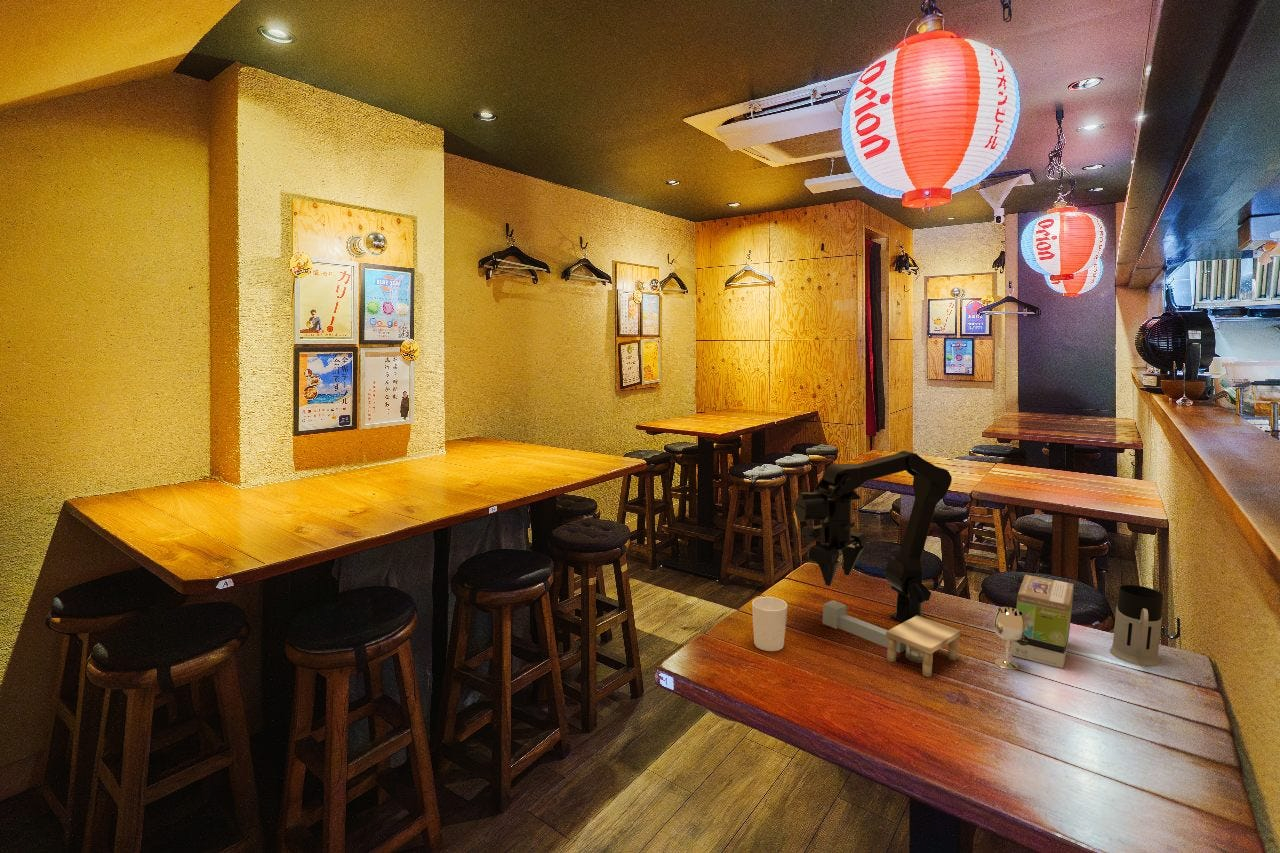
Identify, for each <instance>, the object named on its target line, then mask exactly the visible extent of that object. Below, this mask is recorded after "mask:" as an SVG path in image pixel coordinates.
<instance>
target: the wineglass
mask: <svg viewBox="0 0 1280 853" xmlns="http://www.w3.org/2000/svg"><path fill="white" fill-rule="evenodd" d="M993 630H994V633H995V634H996V635H997V636H998V637H999V638H1001V639H1003V640H1005V642H1004V646H1005V658H996V659H995V660H994V664H995V665H996V666H998V667H1000V668H1002V669H1006V670H1017V669H1018V668H1019V665H1018V663H1016V662H1015V661H1013V660H1011V659H1009V652H1010V651H1009V650H1010V648H1011V642H1013V641H1017V640H1019V639H1021V638H1022V637H1023V635H1024V632H1025V622H1024V616H1023V613H1022V612H1021V611H1020V610H1017V609H1016V607H1015V608H1013V607H1010V606H1000V607H998V608H997V610H996V613H995V615H994V619H993Z"/></svg>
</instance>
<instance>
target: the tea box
mask: <svg viewBox="0 0 1280 853" xmlns="http://www.w3.org/2000/svg"><path fill="white" fill-rule="evenodd" d="M1074 585H1075V584H1074V583H1072V582H1066V581H1061V580H1056V579H1052V578H1046V577H1042V576H1041V577H1040V576H1035V575H1029V574H1025V575H1024V576H1023V579H1022V582H1021V585H1020V587H1019V589H1018V593H1017V597H1016V599H1017V600H1016V607H1015V609H1017V610H1020V611H1021V612H1022V613H1023V616H1024V622H1025V632H1024V635H1023V637H1022V638H1021V639H1019V640H1017V641H1012V646H1011V648H1012V649H1011V655H1012V656H1014V657H1015V658H1016V657H1017V658H1021V659H1023V660H1028V661H1031V662H1036V663H1039V664H1043V665H1045V666H1046V665H1047V666H1051V667H1055V668H1058V669H1063V668H1064V666H1065V663H1066V662H1065V661H1066V656H1067V650H1068V643H1069V636H1070V630H1071V629H1070V628H1071V620H1072V619H1071V618H1072V611H1073V610H1072V609H1073V602H1074V601H1073V600H1074V588H1075V586H1074Z"/></svg>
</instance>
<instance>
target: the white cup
mask: <svg viewBox="0 0 1280 853" xmlns="http://www.w3.org/2000/svg"><path fill="white" fill-rule="evenodd" d="M751 605H752V606H751V607H752V608H751V609H752V625H753V626H752V628H753V629H752V630H753V644H754V645H755V647H756V648H757V649H759V650H762V651H766V652H777V651H781V650H782V649H783V648H784V645H785V635H786V629H787V628H786V627H787V617H788V603H787V602H786V601H785V600H783V599H781V598H777V597H773V596H762V597H760V596H759V597H757V598H755V599H753V600H752V603H751Z"/></svg>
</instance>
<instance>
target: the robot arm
mask: <svg viewBox="0 0 1280 853" xmlns="http://www.w3.org/2000/svg"><path fill="white" fill-rule="evenodd" d="M901 472H906V473H908V474H909V475H910V476H911V477H913V482H912V488H913V489H912V490H913V494H914V501H913V505H912V508H911V512H910V515H909V519H908V522H907V527H906V530H905V533H904V537H903V540H902V544H901V546H900V547H901V548H900V550H899V553H898V554H897V555H896V556H895V557H892V556H889V557H888V559H887V564H886V567H885V569H884V573H885V579H886V580H887V583H888V584H889V585H890V587H891V590H892V591H895V592H896V593H897V596H896V597H897V598H896V611H895V612H894V613H892V614H890V618H891V619H893V620H896V621H899V622H902V623H903V622H905V621H907V620H909V619H911V618H913V617H915V616H920V617H923V618H926V619H928V617H927V616H926V615H922V608H923V607H922V606H923V603H924V602H928V601H930V598H931V595H932V592H931V591H930V590H929V589H928V588H927V587H926V586H925V584H924V583H923V578H924V569H923V564H922V555H923V552H924V549H925V545H926V542H927V540H928V539H927V537H928V535H929V532H930V528H931V524H932V522H933V517H934V514H935V511H936V507H937V504H939V503H940V502H941V501H942V499H944V497H945V496H946V495H947V493H948V491H949V490H950V487H951V484H952V482H953V476H952V475H951V474H950V472H949V470H948V469H945V468H942V467H940V466H936V465H934V464H932V463H930V462H929V461H927V460H926V459H924V458H923V457H921V456H919V455H918V454H917V453H915V452H911V451H908V450H901V451H899V452H896V453H894V454H890V455H886V456H882V457H879V458H875V459H871V460H870V459H869V460H867V461H864V462H859V463H835V464H829V465H827V466H826V469H825V470H824V473H823V476H822V477H821V479H820V480H819V482H818V483H817V484H816V486H815V488H814V489H813V492H807V491H801V492H799V493H798V497H797V498H796V500H795V503H794V507H793V508H794V514H795V516H796V519H797V520H798V521H799V522H800V523H801V522H812V521H813V522H814V521H822V520H824V521H823V522H822V523H821V524H819V525H813V526H812V525H809V526H803V527H802V530H801V538H802V539H803V540H804V541H806V543H807V544H809V543H812V542H816V541H819V542H820V543H817V544H815V545H813V546H811V547H809V549H807V558H808V559H809V560H811V561H812V562H815V563H816V564H817V565H818V567H819V569H820V572H821V575H822V578H823V581H824V584H825V586H828V587H831V586H832V583H833V581H834V577H835V574H836V572H837V569H838V566H839V563H840V561H839V558H840V551H841V554H842V563H843V564H842V566H843V574H844V575H845V576H850V574H851V573H852V571H853V568H854V567H855V565H856V563H857V561H858V560H859V557H860V555H861V554H862V553H863V551H864V550H865V547H866V546H868V536H867V535H866V534H865V533H864V532H863V533H862V532H858V531H854V530H852V528H854V527H856V526H855V524H856V523H855V521H852V516H853V515H852V511H853V509H852V507H853V506H852V505H853V504H852V503H853V501H854V500H855V501H857V500H861V496H860V495H859V494H858V493H856V491H855V490H856V489H859V488H860V487H862V486H863V484H865V483H866V482H868V481H871V480H875V479H880V478H882V477H886V476H891V475H894V474H897V473H901ZM830 488H831V489H830ZM826 544H827V545H826Z"/></svg>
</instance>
